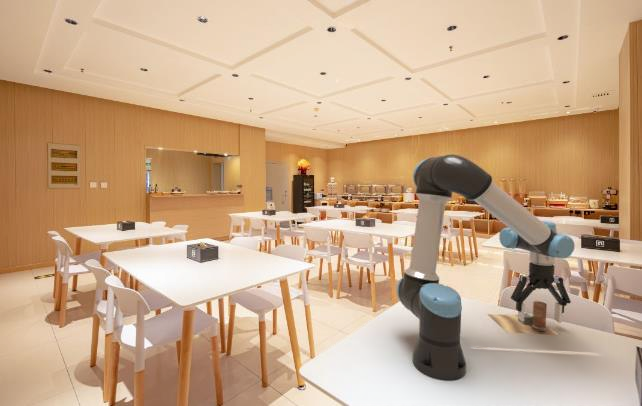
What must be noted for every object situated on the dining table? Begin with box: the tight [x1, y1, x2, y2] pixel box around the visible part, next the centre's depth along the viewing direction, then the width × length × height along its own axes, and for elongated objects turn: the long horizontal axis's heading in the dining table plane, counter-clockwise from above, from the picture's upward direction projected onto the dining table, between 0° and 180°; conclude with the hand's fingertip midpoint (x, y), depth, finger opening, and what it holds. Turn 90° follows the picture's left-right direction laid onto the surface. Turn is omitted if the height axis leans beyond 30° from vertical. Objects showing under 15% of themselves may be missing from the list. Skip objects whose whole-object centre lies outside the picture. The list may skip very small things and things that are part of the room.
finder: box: [518, 312, 533, 325], centre depth 118 cm, size 6×4×3 cm, turn 85°
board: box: [487, 313, 560, 336], centre depth 118 cm, size 18×16×1 cm
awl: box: [532, 300, 548, 332], centre depth 113 cm, size 4×4×10 cm
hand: (539, 320), depth 113 cm, fingers open, 12 cm apart
